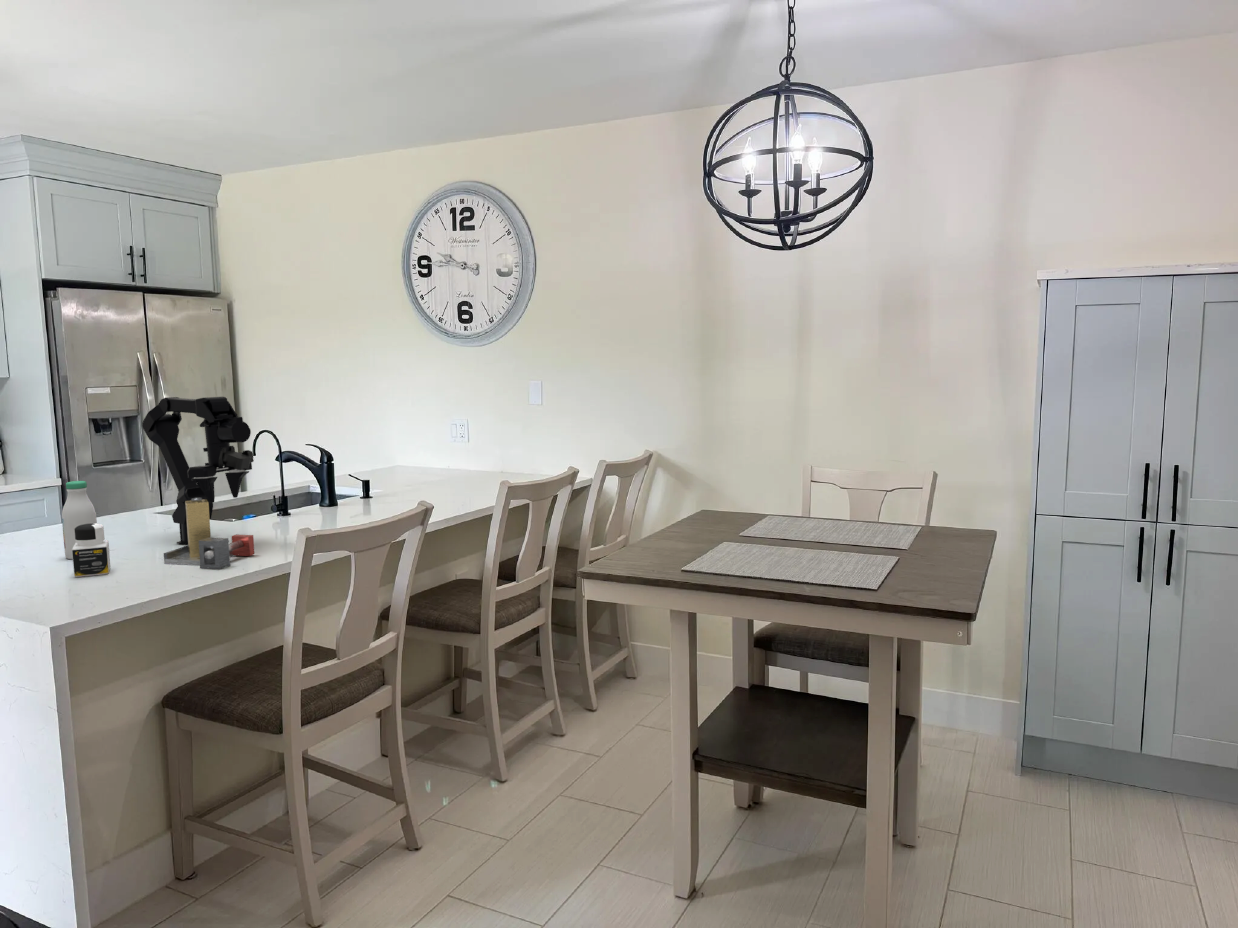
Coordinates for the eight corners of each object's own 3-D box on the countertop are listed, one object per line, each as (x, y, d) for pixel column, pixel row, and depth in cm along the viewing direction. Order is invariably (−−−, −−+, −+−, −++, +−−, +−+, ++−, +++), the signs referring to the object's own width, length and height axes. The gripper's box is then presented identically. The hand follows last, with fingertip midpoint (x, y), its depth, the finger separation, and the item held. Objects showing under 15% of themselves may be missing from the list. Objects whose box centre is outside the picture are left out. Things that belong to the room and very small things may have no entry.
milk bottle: (106, 554, 228) (100, 480, 225) (80, 560, 221) (73, 484, 218) (85, 552, 230) (78, 479, 228) (58, 558, 223) (51, 483, 220)
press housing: (200, 568, 213) (198, 540, 212) (210, 564, 216) (208, 537, 216) (220, 569, 212) (218, 541, 211) (230, 565, 215) (228, 538, 215)
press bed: (164, 563, 217) (163, 553, 217) (196, 552, 229) (195, 542, 229) (206, 565, 215) (205, 555, 215) (235, 554, 227) (235, 544, 226)
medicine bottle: (74, 577, 204) (69, 528, 202) (77, 571, 210) (73, 523, 209) (108, 574, 207) (104, 525, 206) (110, 567, 214) (106, 520, 212)
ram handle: (199, 567, 212) (198, 547, 211) (237, 553, 227) (236, 534, 226) (217, 568, 211) (216, 547, 210) (254, 554, 226) (253, 535, 225)
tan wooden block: (188, 553, 223) (185, 497, 221) (210, 551, 225) (206, 496, 223) (190, 557, 219) (186, 500, 217) (212, 555, 221) (208, 498, 219)
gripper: (219, 444, 220) (225, 504, 222) (265, 439, 238) (271, 494, 240) (183, 446, 223) (189, 505, 224) (231, 440, 241) (237, 495, 242)
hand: (224, 499), depth 233 cm, fingers open, 9 cm apart
